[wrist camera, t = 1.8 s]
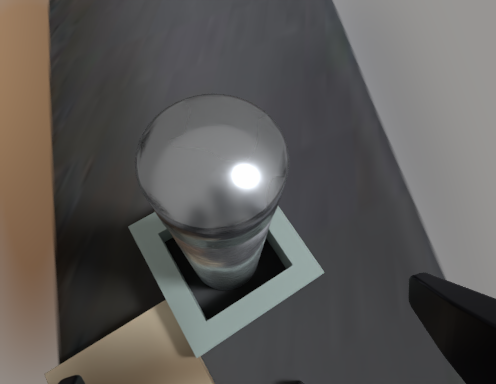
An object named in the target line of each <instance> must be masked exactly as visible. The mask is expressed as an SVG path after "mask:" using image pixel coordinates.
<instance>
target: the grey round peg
mask: <svg viewBox="0 0 496 384" xmlns="http://www.w3.org/2000/svg"><path fill="white" fill-rule="evenodd" d="M135 169H136V176H137V180H138V183H139V186H140V188H141V190H142V193H143V194H144V196H145V197H146V199H147V201H148V202H149V204H150V205H151V207H152V208H153V210H154V211H155V213H156V214H157V216H158V217H159V219H160V220H161V222H162V223H163V225H164V226H165V227H166V228H167V229H168V230H169V231H170V233H171V234H172V236H173V238H174V239H175V241H176V242H177V244H178V245H179V247H180V249H181V250H182V252H183V253H184V255H185V256H186V258H187V259H188V261H189V263H190V264H191V266H192V267H193V269H194V270H195V272H196V274H197V275H198V277H199V278H200V279H201V280H202V281H203V282H204V283H205V284H206V285H208V286H210V287H212V288H214V289H217V290H232V289H236V288H238V287H240V286H242V285H244V284H245V283H246V282H247V281H249V280H250V278H251V277H252V276H253V274H254V272H255V270H256V268H257V265H258V261H259V258H260V255H261V252H262V249H263V246H264V242H265V239H266V236H267V233H268V230H269V227H270V223H271V220H272V217H273V216H274V214H275V211H276V209H277V207H278V203H279V200H280V197H281V194H282V191H283V188H284V185H285V182H286V179H287V175H288V170H289V152H288V146H287V143H286V140H285V137H284V135H283V133H282V131H281V129H280V128H279V126H278V125H277V123H276V122H275V121H274V120H273V119H272V117H271V116H270V115H268V114H267V113H266V112H265V111H264V110H262V109H261V108H260V107H258V106H257V105H255V104H253V103H251V102H249V101H247V100H244V99H242V98H239V97H235V96H231V95H224V94H203V95H197V96H193V97H189V98H186V99H183V100H181V101H178V102H176V103H174V104H172V105H171V106H169V107H167V108H166V109H165V110H163V111H162V112H160V113H159V114H158V115H157V116H156V117H155V118H154V119H153V120H152V121H151V123H150V124H149V125H148V126H147V128H146V129H145V131H144V132H143V135H142V137H141V139H140V141H139V144H138V147H137V151H136V157H135Z"/></svg>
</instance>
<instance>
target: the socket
mask: <svg viewBox="0 0 496 384" xmlns="http://www.w3.org/2000/svg"><path fill="white" fill-rule="evenodd" d="M128 228H129V230H130V232H131V233H132V235H133V237H134V239H135V241H136V243H137V245H138V247H139V249H140V251H141V253H142V255H143V256H144V258H145V260H146V262H147V264H148V266H149V268H150V270H151V272H152V274H153V276H154V278H155V279H156V281H157V283H158V285H159V287H160V289H161V291H162V293H163V295H164V297H165V299H166V301H167V302H168V304H169V306H170V308H171V310H172V312H173V314H174V316H175V318H176V320H177V322H178V324H179V325H180V327H181V329H182V331H183V333H184V335H185V337H186V339H187V341H188V343H189V345H190V347H191V348H192V350H193V352H194V354H195V356H196V358H198V357H200V356H201V355H203V354H204V353H206V352H207V351H209V350H210V349H212V348H213V347H215V346H216V345H218V344H219V343H221V342H222V341H224V340H225V339H227V338H228V337H230V336H231V335H233V334H234V333H236V332H237V331H239V330H240V329H241V328H243V327H244V326H246V325H247V324H249V323H250V322H252V321H253V320H255V319H256V318H258V317H259V316H261V315H262V314H264V313H265V312H267V311H268V310H270V309H271V308H273V307H274V306H276V305H277V304H279V303H280V302H282V301H283V300H285V299H286V298H288V297H289V296H291V295H292V294H294V293H295V292H297V291H298V290H300V289H301V288H302V287H304V286H305V285H307V284H308V283H310V282H311V281H313V280H314V279H316V278H317V277H319V276H320V275H322V274H323V273H325V272H324V271H323V270H322V268H321V267H320V265H319V264H318V262H317V261H316V260H315V258H314V257H313V255H312V254H311V252H310V251H309V250H308V248H307V247H306V245H305V244H304V242H303V241H302V239H301V238H300V237H299V235H298V234H297V232H296V231H295V229H294V228H293V227H292V225H291V224H290V222H289V221H288V219H287V218H286V216H285V215H284V214H283V212H282V211H281V209H280V208H279V206H278V207H277V209H276V211H275V214H274V216H273V217H272V220H271V223H270V227H269V230H268V233H267V236H266V239H267V240H268V242H269V243H270V245H271V246H272V248H273V249H274V251H275V252H276V254H277V255H278V257H279V258H280V260H281V261H282V263H283V264H284V266H285V268H286V270H285V271H283V272H282V273H280V274H279V275H277V276H276V277H274V278H272V279H271V280H269V281H268V282H266V283H265V284H263V285H262V286H260V287H259V288H257V289H256V290H254V291H252V292H251V293H249V294H248V295H246V296H245V297H243V298H242V299H240V300H239V301H237V302H235V303H234V304H232V305H231V306H229V307H228V308H226V309H225V310H223V311H222V312H220V313H219V314H217V315H215V316H214V317H212V318H211V319H209V320H207V318H206V317H205V315H204V313H203V311H202V309H201V308H200V306H199V304H198V302H197V300H196V298H195V297H194V295H193V293H192V291H191V289H190V288H189V286H188V284H187V282H186V280H185V279H184V277H183V275H182V273H181V271H180V269H179V268H178V266H177V264H176V262H175V260H174V259H173V257H172V255H171V253H170V251H169V250H168V248H167V246H166V244H165V242H166V241H168V240H169V239H171V238H173V236H172V234H171V233H170V231H169V230H168V229H167V228H166V227H165V226H164V225H163V223H162V222H161V220H160V219H159V217H158V216H157V214H156V213H155V212H154V213H152V214H150V215H148V216H147V217H145V218H143V219H141V220H139V221H137V222H136V223H134V224H132V225H130V226H128Z"/></svg>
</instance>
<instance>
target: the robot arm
mask: <svg viewBox="0 0 496 384" xmlns="http://www.w3.org/2000/svg"><path fill="white" fill-rule="evenodd" d="M409 302H410V305H411V307H412V309H413V310H414V312H415V313H416V315H417V316H418V318H419V319H420V321H421V322H422V324H423V325H424V327H425V328H426V330H427V331H428V333H429V334H430V336H431V337H432V339H433V340H434V342H435V343H436V345H437V347H438V348H439V349H440V351H441V352H442V354H443V355H444V356H445V358H446V359H447V360H448V362H449V363H450V364H451V365H452V367H453V368H454V369H455V370H456V372H457V373H458V374H459V375H460V377H461V378H462V379H463V380H464V382H465V383H466V384H496V299H495V298H492V297H489V296H487V295H484V294H481V293H479V292H476V291H473V290H471V289H468V288H465V287H463V286H460V285H457V284H455V283H452V282H449V281H447V280H444V279H441V278H439V277H436V276H433V275H431V274H428V273H419V274H416V275H413V276H411V277H410V279H409ZM58 384H85V382H84V380H83V378H82V377H81V376H80V375H73V376H70V377H67V378H64V379H62V380H61V381H60V382H59V383H58Z"/></svg>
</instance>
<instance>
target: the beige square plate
mask: <svg viewBox="0 0 496 384" xmlns="http://www.w3.org/2000/svg"><path fill="white" fill-rule="evenodd" d="M73 375H80V376H81V377H82V378H83V380H84V382H85V384H215V383H214V381H213V379H212V377H211V375H210V373H209V372H208V370H207V368H206V366H205V364H204V362H203V360H202V358H201V356H200V357H198V358H196V356H195V354H194V352H193V350H192V348H191V347H190V345H189V343H188V341H187V339H186V337H185V335H184V333H183V331H182V329H181V327H180V325H179V324H178V322H177V320H176V318H175V316H174V314H173V312H172V310H171V308H170V306H169V304H168V302H167V301H166V300H164V301H163V302H161V303H159V304H158V305H156V306H154V307H153V308H151V309H150V310H148V311H146V312H145V313H143V314H141V315H140V316H138V317H137V318H135V319H133V320H132V321H130V322H128V323H127V324H125V325H124V326H122V327H120V328H119V329H117V330H115V331H114V332H112V333H111V334H109V335H107V336H106V337H104V338H102V339H101V340H99V341H98V342H96V343H94V344H93V345H91V346H89V347H88V348H86V349H84V350H83V351H81V352H80V353H78V354H76V355H75V356H73V357H71V358H70V359H68V360H67V361H65V362H63V363H62V364H60V365H58V366H57V367H55V368H54V369H52V370H50V371H49V372H47V373H46V374H45V377H46V380H47V382H48V384H58V383H59V382H60V381H61V380H62V379H64V378H67V377H70V376H73Z"/></svg>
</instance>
